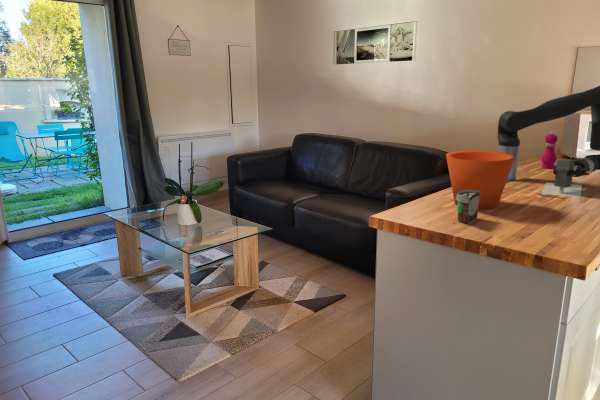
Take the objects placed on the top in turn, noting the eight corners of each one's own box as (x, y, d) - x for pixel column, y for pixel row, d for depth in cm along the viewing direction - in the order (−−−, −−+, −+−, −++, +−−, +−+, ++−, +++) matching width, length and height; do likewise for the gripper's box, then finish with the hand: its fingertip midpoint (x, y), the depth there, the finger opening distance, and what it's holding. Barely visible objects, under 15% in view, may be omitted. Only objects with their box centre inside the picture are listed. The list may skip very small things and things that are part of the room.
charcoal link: (565, 187, 181) (569, 161, 178) (554, 185, 185) (557, 160, 182) (571, 186, 184) (574, 160, 181) (559, 184, 187) (562, 158, 184)
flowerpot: (489, 217, 159) (494, 163, 154) (430, 204, 178) (433, 155, 173) (521, 204, 174) (527, 154, 169) (464, 193, 193) (467, 148, 188)
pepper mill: (537, 167, 243) (541, 131, 238) (546, 166, 246) (550, 130, 241) (549, 169, 237) (553, 132, 232) (558, 168, 240) (563, 131, 235)
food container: (461, 214, 163) (463, 188, 161) (478, 217, 160) (480, 190, 157) (448, 222, 154) (450, 195, 152) (466, 226, 150) (468, 197, 148)
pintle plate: (580, 200, 177) (581, 190, 176) (540, 196, 185) (542, 186, 184) (581, 187, 197) (582, 178, 196) (546, 184, 204) (547, 175, 203)
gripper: (564, 156, 195) (544, 161, 186) (600, 160, 184) (581, 166, 174) (562, 173, 197) (542, 179, 188) (597, 178, 186) (578, 184, 176)
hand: (561, 172), depth 181 cm, fingers closed on charcoal link, 4 cm apart
